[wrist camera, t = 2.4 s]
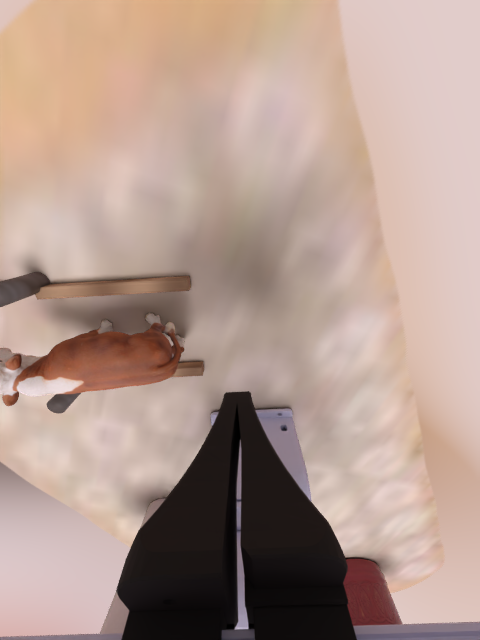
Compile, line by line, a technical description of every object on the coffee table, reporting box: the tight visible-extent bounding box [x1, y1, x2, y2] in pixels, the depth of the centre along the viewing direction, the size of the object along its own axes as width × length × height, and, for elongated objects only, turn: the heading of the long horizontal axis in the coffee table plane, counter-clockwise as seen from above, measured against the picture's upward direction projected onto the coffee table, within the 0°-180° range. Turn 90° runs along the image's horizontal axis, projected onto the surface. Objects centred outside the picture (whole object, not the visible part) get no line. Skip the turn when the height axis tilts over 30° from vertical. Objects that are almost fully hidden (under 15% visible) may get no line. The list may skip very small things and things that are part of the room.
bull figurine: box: [0, 313, 185, 406], centre depth 18 cm, size 4×13×8 cm, turn 91°
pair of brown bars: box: [0, 272, 204, 413], centre depth 19 cm, size 14×12×4 cm
